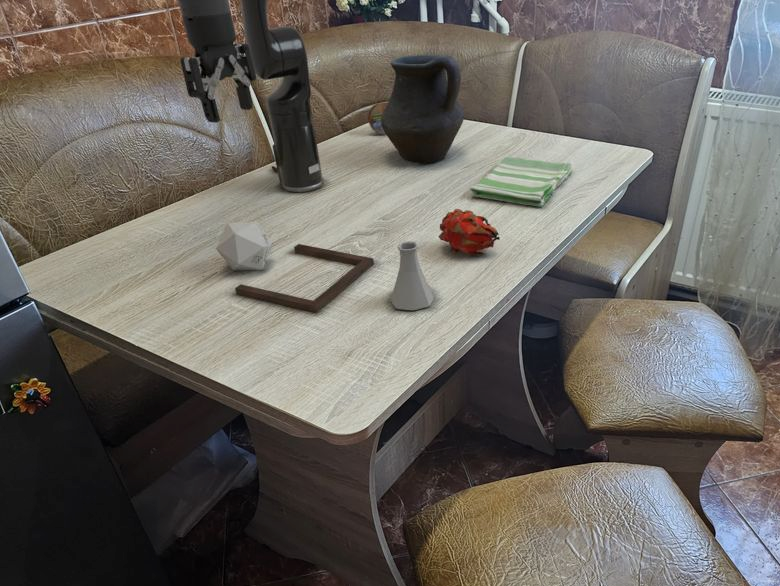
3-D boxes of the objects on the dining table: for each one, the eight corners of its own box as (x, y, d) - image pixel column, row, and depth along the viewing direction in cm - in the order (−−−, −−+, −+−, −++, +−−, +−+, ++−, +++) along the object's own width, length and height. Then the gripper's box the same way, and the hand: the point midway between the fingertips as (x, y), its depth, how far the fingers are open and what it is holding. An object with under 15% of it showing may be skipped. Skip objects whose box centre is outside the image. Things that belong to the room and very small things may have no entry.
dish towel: (573, 172, 150) (574, 161, 149) (543, 209, 133) (544, 196, 132) (503, 163, 156) (503, 152, 155) (466, 198, 139) (465, 186, 138)
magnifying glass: (372, 137, 177) (369, 105, 172) (368, 134, 179) (365, 103, 174) (421, 128, 183) (419, 98, 178) (416, 125, 185) (414, 95, 180)
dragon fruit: (438, 250, 122) (495, 269, 119) (423, 241, 114) (483, 262, 111) (453, 208, 122) (510, 226, 118) (439, 196, 113) (500, 216, 110)
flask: (390, 290, 107) (384, 236, 101) (433, 288, 107) (430, 234, 101) (390, 313, 101) (383, 257, 95) (435, 310, 101) (431, 254, 96)
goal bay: (236, 294, 107) (234, 288, 106) (299, 249, 120) (298, 243, 120) (317, 313, 102) (316, 306, 101) (374, 264, 115) (373, 258, 114)
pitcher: (420, 140, 173) (413, 41, 159) (485, 154, 163) (484, 49, 148) (368, 162, 160) (356, 55, 145) (436, 178, 149) (430, 65, 135)
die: (248, 286, 111) (272, 236, 108) (201, 260, 109) (225, 209, 107) (262, 279, 119) (286, 232, 117) (219, 255, 118) (242, 208, 115)
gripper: (217, 5, 108) (240, 104, 117) (154, 16, 97) (185, 124, 106) (253, 5, 105) (273, 106, 114) (191, 17, 94) (220, 128, 104)
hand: (231, 115), depth 110 cm, fingers open, 8 cm apart
